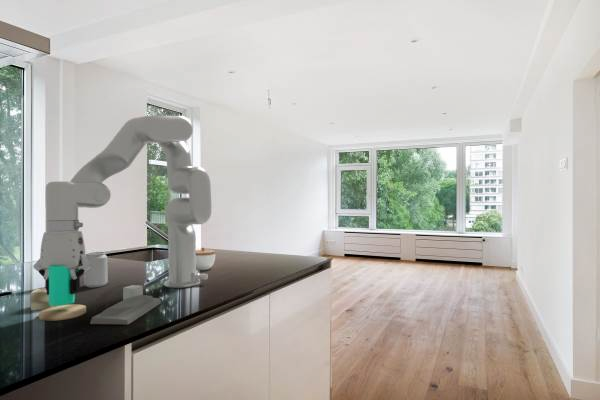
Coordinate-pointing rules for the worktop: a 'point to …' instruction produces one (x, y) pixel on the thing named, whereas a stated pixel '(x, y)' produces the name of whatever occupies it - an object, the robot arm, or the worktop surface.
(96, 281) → the can
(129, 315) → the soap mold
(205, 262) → the lidded jar
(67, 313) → the disc
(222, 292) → the worktop surface
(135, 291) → the grey stone block
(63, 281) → the candle
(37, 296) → the maple cube
